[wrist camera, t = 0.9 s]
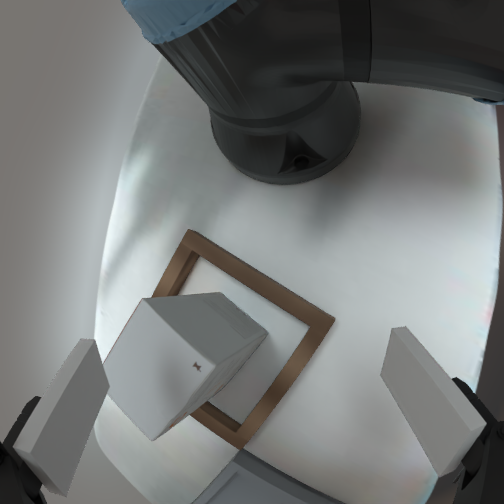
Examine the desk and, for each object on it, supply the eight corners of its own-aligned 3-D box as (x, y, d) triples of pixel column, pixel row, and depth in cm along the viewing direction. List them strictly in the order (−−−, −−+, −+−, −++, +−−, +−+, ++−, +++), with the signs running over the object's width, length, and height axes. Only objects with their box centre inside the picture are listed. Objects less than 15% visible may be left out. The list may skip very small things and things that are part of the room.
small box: (220, 290, 31) (141, 294, 18) (270, 332, 29) (219, 367, 16) (176, 349, 31) (91, 379, 19) (221, 390, 30) (152, 444, 17)
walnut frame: (197, 231, 32) (188, 228, 30) (335, 318, 27) (335, 320, 25) (132, 354, 33) (121, 357, 31) (246, 441, 28) (240, 450, 26)
